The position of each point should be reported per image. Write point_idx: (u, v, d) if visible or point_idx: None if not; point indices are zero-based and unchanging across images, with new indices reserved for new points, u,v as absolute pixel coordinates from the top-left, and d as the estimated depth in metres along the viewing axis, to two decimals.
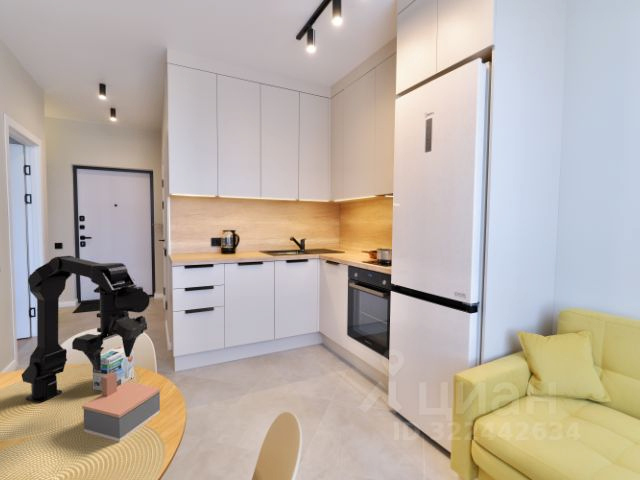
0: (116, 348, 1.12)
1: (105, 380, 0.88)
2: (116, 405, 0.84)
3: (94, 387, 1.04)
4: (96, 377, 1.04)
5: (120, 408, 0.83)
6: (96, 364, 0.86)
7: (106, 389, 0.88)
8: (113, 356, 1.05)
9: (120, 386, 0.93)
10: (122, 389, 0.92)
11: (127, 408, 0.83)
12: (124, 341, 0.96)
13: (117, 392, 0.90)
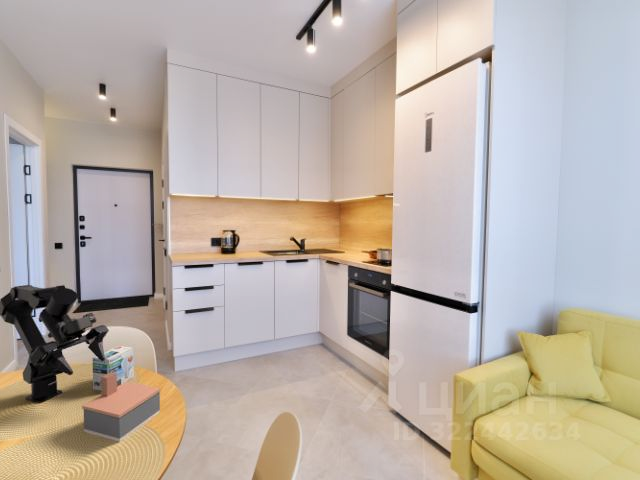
0: (116, 348, 1.12)
1: (105, 380, 0.88)
2: (116, 405, 0.84)
3: (94, 387, 1.04)
4: (96, 377, 1.04)
5: (120, 408, 0.83)
6: (65, 368, 0.87)
7: (106, 389, 0.88)
8: (113, 356, 1.05)
9: (120, 386, 0.93)
10: (122, 389, 0.92)
11: (127, 408, 0.83)
12: (93, 350, 0.97)
13: (117, 392, 0.90)
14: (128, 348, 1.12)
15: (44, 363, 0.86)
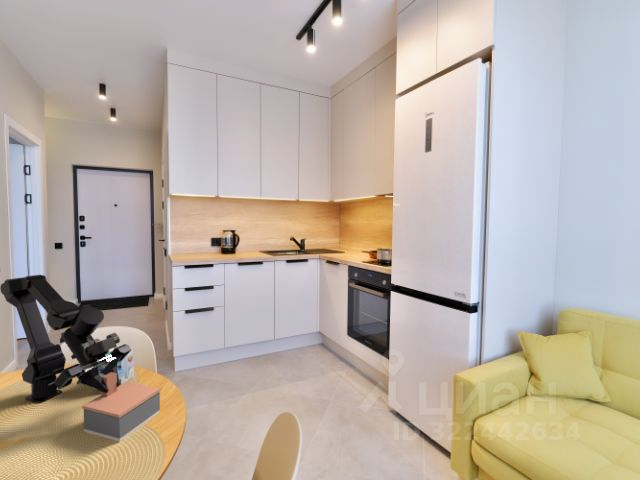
0: None
1: (105, 380, 0.88)
2: (116, 405, 0.84)
3: None
4: None
5: (120, 408, 0.83)
6: (101, 386, 0.87)
7: None
8: None
9: (120, 386, 0.93)
10: (122, 389, 0.92)
11: (127, 408, 0.83)
12: None
13: (117, 392, 0.90)
14: None
15: (80, 381, 0.86)
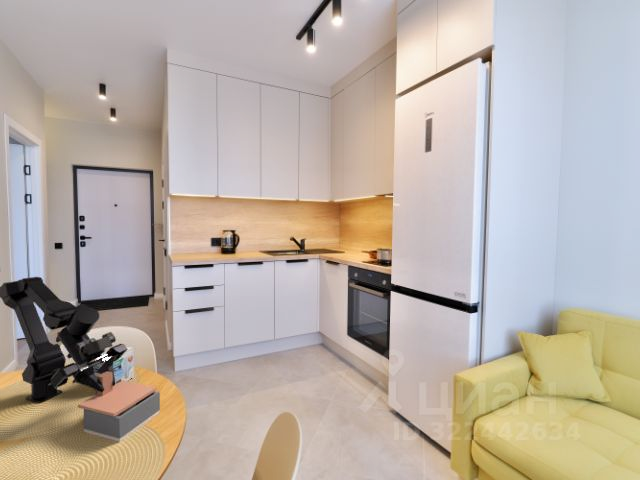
0: None
1: (101, 379, 0.88)
2: (111, 404, 0.84)
3: None
4: None
5: (115, 407, 0.83)
6: (97, 385, 0.88)
7: None
8: None
9: (116, 385, 0.94)
10: (118, 388, 0.92)
11: (122, 407, 0.83)
12: None
13: (113, 391, 0.91)
14: (128, 348, 1.12)
15: (76, 380, 0.87)
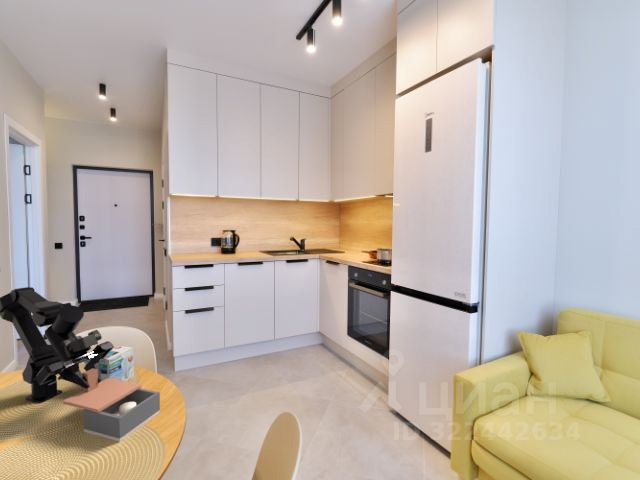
0: (116, 348, 1.12)
1: (86, 376, 0.90)
2: (96, 400, 0.86)
3: None
4: None
5: (99, 403, 0.85)
6: (82, 382, 0.89)
7: None
8: (113, 356, 1.05)
9: (102, 382, 0.96)
10: (104, 385, 0.94)
11: (106, 403, 0.85)
12: None
13: (98, 388, 0.92)
14: (128, 348, 1.12)
15: (61, 377, 0.89)
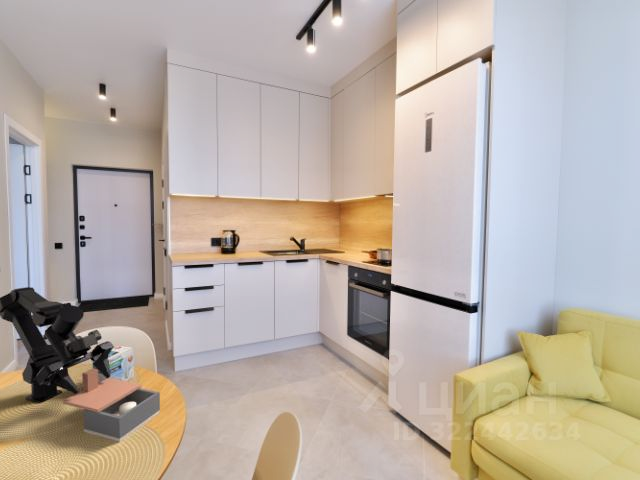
0: (116, 348, 1.12)
1: (86, 376, 0.90)
2: (96, 400, 0.86)
3: None
4: None
5: (99, 403, 0.85)
6: (71, 387, 0.86)
7: (87, 385, 0.90)
8: (113, 356, 1.05)
9: (102, 382, 0.96)
10: (104, 385, 0.94)
11: (106, 403, 0.85)
12: (99, 367, 0.97)
13: (98, 388, 0.92)
14: (128, 348, 1.12)
15: (50, 382, 0.86)
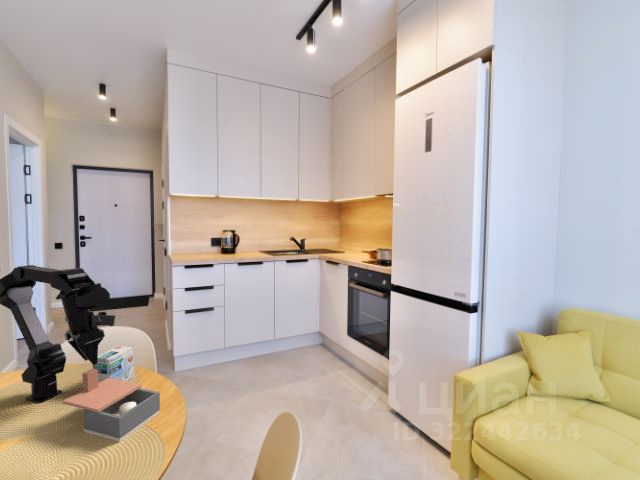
0: (116, 348, 1.12)
1: (86, 376, 0.90)
2: (96, 400, 0.86)
3: None
4: None
5: (99, 403, 0.85)
6: (96, 356, 0.92)
7: (87, 385, 0.90)
8: (113, 356, 1.05)
9: (102, 382, 0.96)
10: (104, 385, 0.94)
11: (106, 403, 0.85)
12: (78, 348, 0.98)
13: (98, 388, 0.92)
14: (128, 348, 1.12)
15: (83, 346, 0.89)
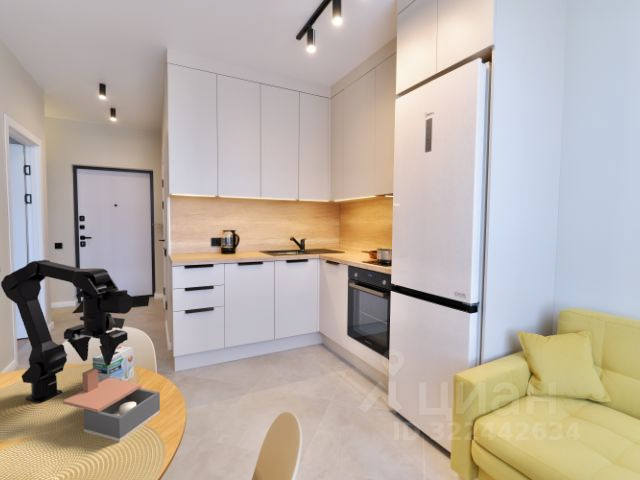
0: (116, 348, 1.12)
1: (86, 376, 0.90)
2: (96, 400, 0.86)
3: None
4: None
5: (99, 403, 0.85)
6: (111, 358, 0.96)
7: (87, 385, 0.90)
8: (113, 356, 1.05)
9: (102, 382, 0.96)
10: (104, 385, 0.94)
11: (106, 403, 0.85)
12: (79, 348, 0.97)
13: (98, 388, 0.92)
14: (128, 348, 1.12)
15: None
